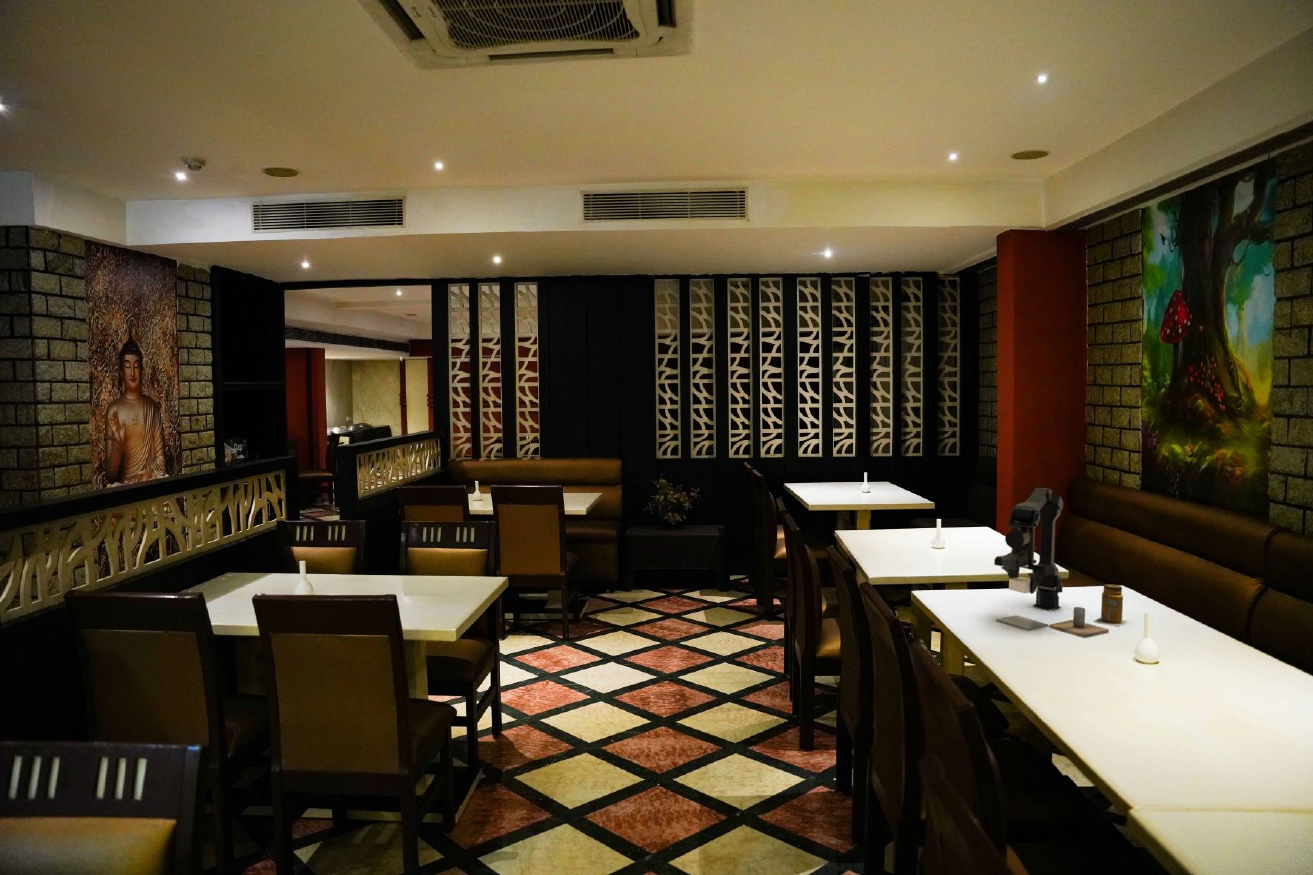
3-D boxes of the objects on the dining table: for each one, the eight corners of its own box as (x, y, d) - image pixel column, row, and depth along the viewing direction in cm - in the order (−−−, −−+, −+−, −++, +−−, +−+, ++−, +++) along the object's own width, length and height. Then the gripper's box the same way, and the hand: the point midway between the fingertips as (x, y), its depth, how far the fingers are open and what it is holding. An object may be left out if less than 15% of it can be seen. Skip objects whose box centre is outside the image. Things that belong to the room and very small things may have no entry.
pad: (996, 620, 260) (996, 619, 260) (1016, 616, 265) (1016, 615, 265) (1028, 630, 250) (1028, 628, 250) (1048, 626, 254) (1048, 624, 254)
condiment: (1126, 621, 260) (1127, 585, 259) (1118, 626, 254) (1119, 590, 254) (1102, 616, 265) (1103, 581, 265) (1093, 622, 260) (1094, 586, 259)
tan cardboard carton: (1021, 587, 261) (1021, 576, 260) (1037, 591, 255) (1037, 580, 255) (1009, 589, 258) (1009, 578, 258) (1025, 593, 253) (1025, 582, 252)
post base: (1049, 627, 253) (1050, 606, 253) (1072, 622, 259) (1073, 601, 258) (1084, 637, 242) (1085, 615, 242) (1108, 632, 248) (1109, 610, 248)
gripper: (983, 541, 260) (982, 587, 261) (1034, 551, 244) (1032, 601, 245) (1006, 538, 265) (1004, 583, 266) (1057, 548, 249) (1055, 596, 250)
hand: (1023, 591), depth 257 cm, fingers closed on tan cardboard carton, 6 cm apart
